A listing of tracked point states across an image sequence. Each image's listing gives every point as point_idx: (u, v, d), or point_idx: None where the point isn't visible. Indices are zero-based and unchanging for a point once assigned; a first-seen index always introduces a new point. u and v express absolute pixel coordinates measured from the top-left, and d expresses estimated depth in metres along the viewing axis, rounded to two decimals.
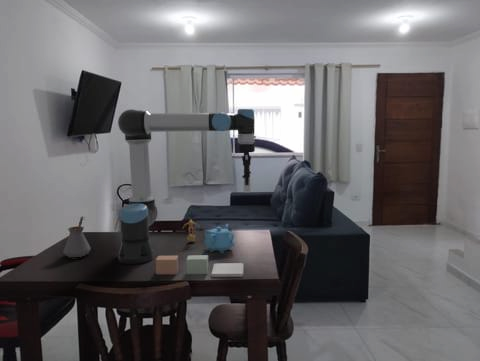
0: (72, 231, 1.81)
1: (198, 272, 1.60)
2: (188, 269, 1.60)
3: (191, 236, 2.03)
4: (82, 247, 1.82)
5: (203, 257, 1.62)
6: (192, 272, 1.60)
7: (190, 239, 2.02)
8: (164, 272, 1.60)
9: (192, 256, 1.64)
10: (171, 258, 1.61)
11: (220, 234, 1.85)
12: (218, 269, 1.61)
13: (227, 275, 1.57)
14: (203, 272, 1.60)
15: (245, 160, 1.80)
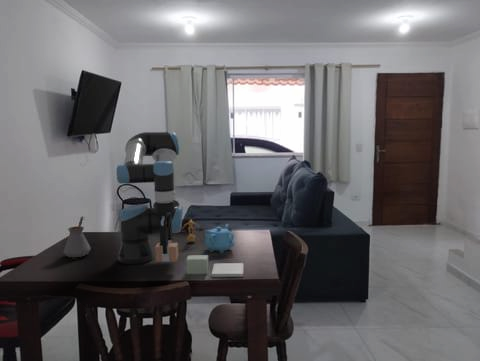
0: (72, 231, 1.81)
1: (198, 272, 1.60)
2: (188, 269, 1.60)
3: (191, 236, 2.03)
4: (82, 247, 1.82)
5: (203, 257, 1.62)
6: (192, 272, 1.60)
7: (190, 239, 2.02)
8: None
9: (192, 256, 1.64)
10: (171, 245, 1.61)
11: (220, 234, 1.85)
12: (218, 269, 1.61)
13: (227, 275, 1.57)
14: (203, 272, 1.60)
15: (161, 227, 1.55)
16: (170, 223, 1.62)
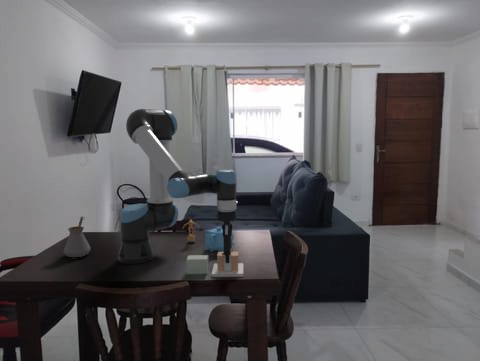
0: (72, 231, 1.81)
1: (198, 272, 1.60)
2: (188, 269, 1.60)
3: (191, 236, 2.03)
4: (82, 247, 1.82)
5: (203, 257, 1.62)
6: (192, 272, 1.60)
7: (190, 239, 2.02)
8: None
9: (192, 256, 1.63)
10: (232, 254, 1.60)
11: (220, 234, 1.85)
12: None
13: (227, 275, 1.57)
14: (203, 272, 1.60)
15: (225, 235, 1.54)
16: None
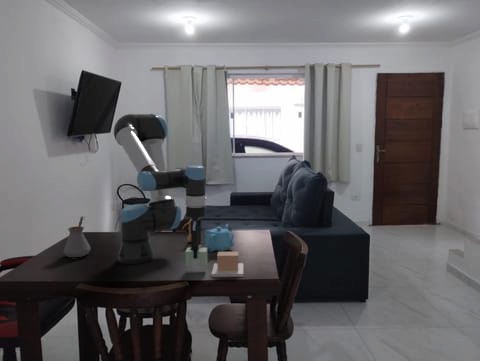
0: (72, 231, 1.81)
1: None
2: (187, 261, 1.60)
3: None
4: (82, 247, 1.82)
5: (202, 249, 1.62)
6: (191, 264, 1.61)
7: (190, 239, 2.02)
8: (225, 268, 1.60)
9: None
10: (232, 254, 1.60)
11: (220, 234, 1.85)
12: None
13: (227, 275, 1.57)
14: (202, 264, 1.60)
15: (192, 231, 1.55)
16: (200, 228, 1.62)
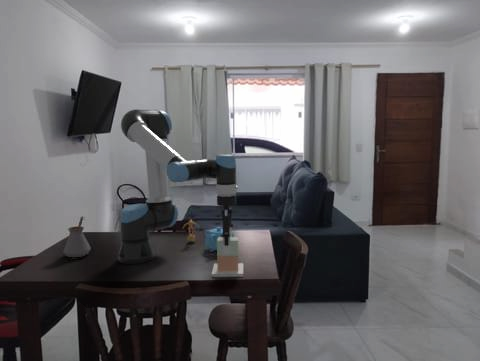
0: (72, 231, 1.81)
1: None
2: (218, 250, 1.59)
3: (191, 236, 2.03)
4: (82, 247, 1.82)
5: (233, 239, 1.60)
6: (222, 253, 1.59)
7: (190, 239, 2.02)
8: (225, 268, 1.60)
9: (222, 237, 1.62)
10: None
11: (220, 234, 1.85)
12: None
13: (227, 275, 1.57)
14: (234, 253, 1.59)
15: (224, 216, 1.52)
16: (231, 216, 1.62)
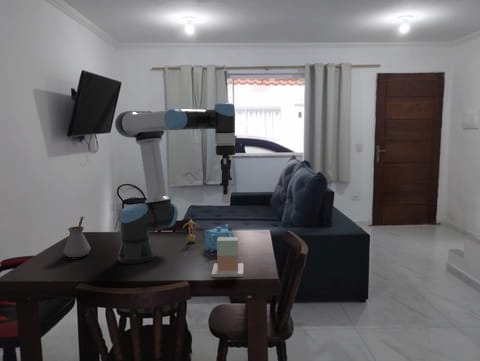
0: (72, 231, 1.81)
1: (229, 253, 1.59)
2: (218, 250, 1.59)
3: (191, 236, 2.03)
4: (82, 247, 1.82)
5: (233, 239, 1.60)
6: (222, 253, 1.59)
7: (190, 239, 2.02)
8: (225, 268, 1.60)
9: (222, 237, 1.62)
10: None
11: (220, 234, 1.85)
12: None
13: (227, 275, 1.57)
14: (234, 253, 1.59)
15: (223, 165, 1.50)
16: (230, 167, 1.60)
